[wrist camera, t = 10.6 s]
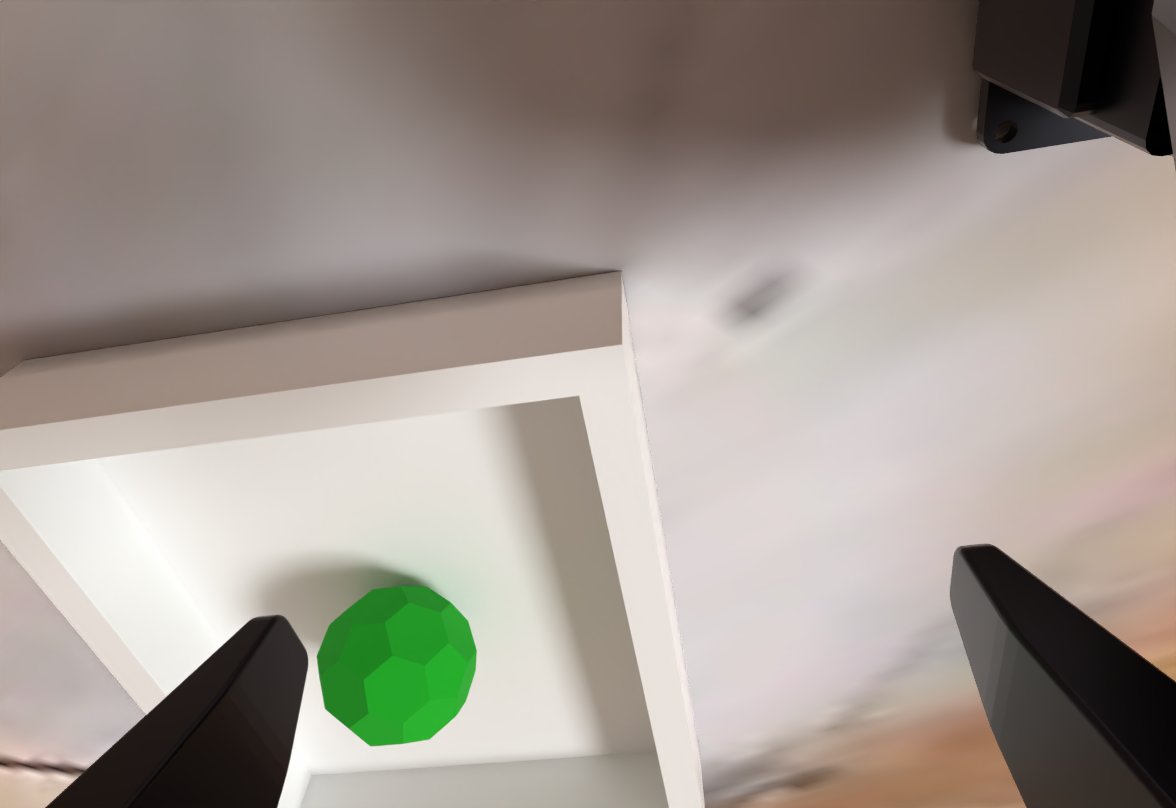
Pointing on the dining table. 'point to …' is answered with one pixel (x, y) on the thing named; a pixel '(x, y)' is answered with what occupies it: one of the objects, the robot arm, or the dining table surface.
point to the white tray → (379, 530)
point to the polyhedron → (397, 665)
